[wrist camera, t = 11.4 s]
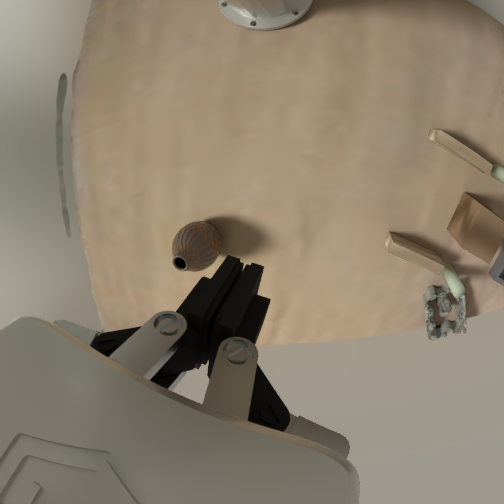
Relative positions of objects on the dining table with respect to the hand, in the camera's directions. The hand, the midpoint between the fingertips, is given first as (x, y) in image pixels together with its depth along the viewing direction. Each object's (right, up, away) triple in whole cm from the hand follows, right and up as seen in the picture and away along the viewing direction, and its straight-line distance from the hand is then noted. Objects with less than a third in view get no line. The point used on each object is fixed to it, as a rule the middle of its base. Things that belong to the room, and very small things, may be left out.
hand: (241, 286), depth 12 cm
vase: (-7, +4, +30) cm, 31 cm away
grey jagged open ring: (+32, -7, +24) cm, 41 cm away
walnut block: (+31, +6, +16) cm, 36 cm away
